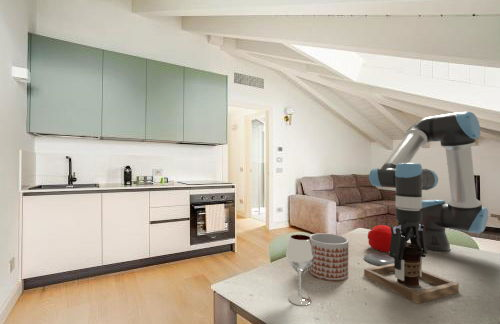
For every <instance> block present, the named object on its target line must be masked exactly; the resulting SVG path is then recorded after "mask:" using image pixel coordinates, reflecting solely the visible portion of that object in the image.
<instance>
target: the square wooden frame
mask: <svg viewBox="0 0 500 324" xmlns="http://www.w3.org/2000/svg"><path fill="white" fill-rule="evenodd" d="M392 273H394V274H395V267H394V264H388V265H383V266H378V265H376V266H373V267H368V268H367V267H366V268H364V269H363V276H364V277H365V278H367V279H369V280H371V281H373V282H375V283H377V284H379V285H380V286H383V287H384V288H387V289H388V290H390V291H392V292H394V293H396V294H397V295H400V296H401V297H403V298H405V299H408V300H410V301H411V302H414V303H416V304H421V303H426V302H429V301H433V300H435V299H439V298H443V297H446V296H450V295H453V294H458V293H459V290H460V289H459V286H460V285H459V283H456V282H454V281H452V280H449V279H446V278H444V277H441V276H439V275H436V274H434V273H431V272H428V271H425V270H423V269H422V277H419V278H418V279H422V280H424V281H425V282H428V283H430V284H432V285H436V286H432V287H430V288H429V287H427V288H425V289H421V290H414V289H411V287H410V288H409V287H408V286H405V285H402V284H400V283H398V281H395V280H393V279H391V278H388V277H387V276H384V275H387V274H388V275H389V274H392Z"/></svg>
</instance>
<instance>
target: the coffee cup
mask: <svg viewBox="0 0 500 324" xmlns="http://www.w3.org/2000/svg"><path fill="white" fill-rule="evenodd" d="M422 251H423V250H422V249H421V247H420V246H419V245H416V244H412V243H411V242H408V241H407V244H406V247H405V250H404V252H403V253H404V255H403V258H402V260H404V281H402V280H400V279H398V278H396V282H397V283H399V284H401V285H403V286H405V287H408V288H409V287H410V288H418V287H419V286H421V285H420V278H419V276H420V275H419V274H420V269H421V255H422Z"/></svg>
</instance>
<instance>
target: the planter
mask: <svg viewBox="0 0 500 324" xmlns="http://www.w3.org/2000/svg"><path fill="white" fill-rule="evenodd" d="M308 236H309V237H310V238H311V242H312V246H313V250H314V255H315V260H314V263H313V265H312V266H311V267H310V268H309V269H308V272H309V273H310V274H311V275H312V276H313V277H314V278H317V279H320V280H324V281H329V282H340V281H345V280H346V279H347V278H348V277H349V238H347V237H345V236H343V235H339V234H335V233H326V232H325V233H324V232H318V233H312V234H310V235H308Z"/></svg>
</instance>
